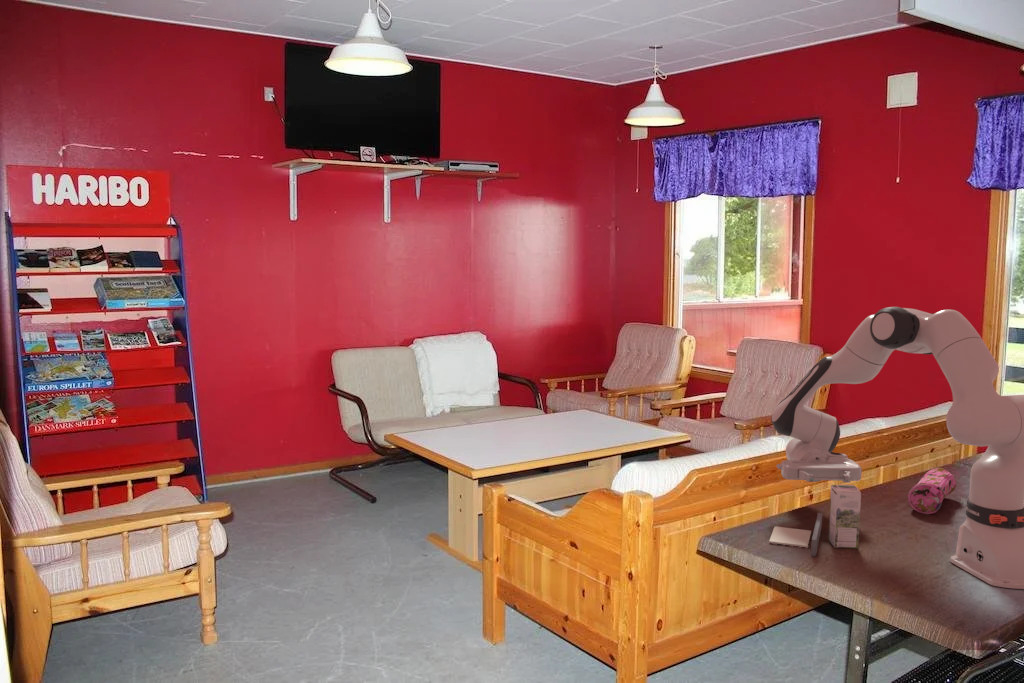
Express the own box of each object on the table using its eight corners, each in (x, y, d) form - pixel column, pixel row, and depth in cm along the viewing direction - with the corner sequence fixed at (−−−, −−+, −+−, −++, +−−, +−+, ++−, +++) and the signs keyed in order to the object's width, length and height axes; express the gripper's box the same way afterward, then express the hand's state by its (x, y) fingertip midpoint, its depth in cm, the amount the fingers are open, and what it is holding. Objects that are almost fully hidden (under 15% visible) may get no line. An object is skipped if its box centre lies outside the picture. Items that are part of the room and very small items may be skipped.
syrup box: (851, 541, 215) (854, 484, 213) (858, 549, 209) (861, 490, 207) (828, 540, 215) (830, 483, 214) (834, 548, 209) (836, 490, 208)
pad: (811, 533, 221) (811, 530, 221) (807, 548, 210) (807, 545, 210) (774, 528, 224) (774, 526, 224) (769, 543, 213) (769, 541, 213)
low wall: (821, 528, 224) (822, 513, 224) (815, 556, 204) (816, 540, 204) (817, 527, 225) (818, 512, 224) (811, 555, 205) (811, 539, 204)
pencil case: (942, 518, 233) (944, 486, 232) (905, 512, 238) (907, 480, 237) (956, 498, 250) (958, 468, 249) (921, 493, 255) (923, 464, 254)
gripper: (775, 452, 237) (788, 466, 223) (851, 454, 236) (869, 468, 222) (774, 475, 238) (787, 490, 224) (850, 476, 237) (868, 491, 223)
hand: (829, 479), depth 223 cm, fingers open, 8 cm apart
